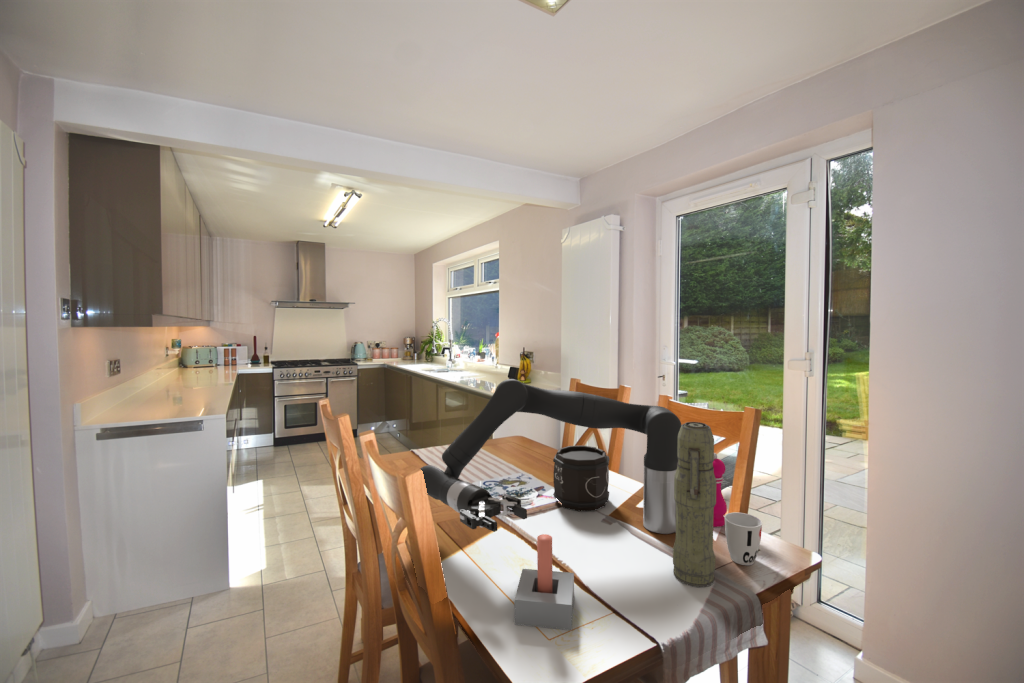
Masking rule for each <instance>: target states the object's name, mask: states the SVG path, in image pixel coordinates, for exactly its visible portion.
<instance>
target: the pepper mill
mask: <svg viewBox="0 0 1024 683" xmlns="http://www.w3.org/2000/svg"><path fill="white" fill-rule="evenodd" d="M713 467H714V475H715V478H716V504H715V506H714V513H713V528H719V527H725V515H726V514H727V512H728V506H727V501H726V500H725V497H724V496H723V491H722V483H723V482H724V476H723V475H724V474H725V473H726V465H725V463H724V461H722V460H721V459H719V458H718V454H717V453H716V452H714V461H713Z"/></svg>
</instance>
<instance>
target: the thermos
mask: <svg viewBox="0 0 1024 683" xmlns="http://www.w3.org/2000/svg"><path fill="white" fill-rule="evenodd" d="M714 453H715V437H714V434H713V431H712V428H711V426H709V425H708V424H706V423H704V422H699V421H687V422H685V423H681V428H680V431H679V433H678V450H677V457H678V463H677V470H676V472H675V475H674V500H675V502H676V532H675V540H674V544H673V547H672V565H673V572H672V573H673V576H674V578H675V579H676V580H677V581H678V582H679V583H682V584H683V585H687V586H690V587H695V588H706V587H710V586H711V585H713V584H714V581H715V571H716V554H715V552H714V527H713V513H714V506H715V504H716V478H715V475H714V467H713V461H714Z"/></svg>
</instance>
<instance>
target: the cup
mask: <svg viewBox="0 0 1024 683" xmlns="http://www.w3.org/2000/svg"><path fill="white" fill-rule="evenodd" d="M724 517H725V524H724V530H725V531H724V532H725V533H724V534H725V540H726V546H727V550H728V553H729V556H730V559H731V560H732V561H733V563H735V564H738V565H742V566H752V565H754V563H755V561H756V559H757V557H758V554H759V549H760V544H761V541H762V540H761V539H762V531H763V530H762V528H763V521H762V520H761V519H760V518H759V517H757V516H754V515H752V514H750V513H747V512H746V513H744V512H737V511H736V512H728V513H726V514H725V515H724Z"/></svg>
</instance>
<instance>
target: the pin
mask: <svg viewBox="0 0 1024 683" xmlns="http://www.w3.org/2000/svg"><path fill="white" fill-rule="evenodd" d="M536 539H537V543H536V544H537V545H536V546H537V550H536V551H537V560H536V562H537V563H536V564H537V570H538V592H540V593H551V594H553V590H552V571H553V536H552V535H550V534H543V533H542V534H539V535H537V537H536Z"/></svg>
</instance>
